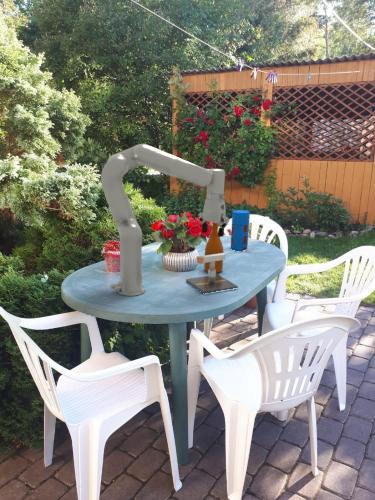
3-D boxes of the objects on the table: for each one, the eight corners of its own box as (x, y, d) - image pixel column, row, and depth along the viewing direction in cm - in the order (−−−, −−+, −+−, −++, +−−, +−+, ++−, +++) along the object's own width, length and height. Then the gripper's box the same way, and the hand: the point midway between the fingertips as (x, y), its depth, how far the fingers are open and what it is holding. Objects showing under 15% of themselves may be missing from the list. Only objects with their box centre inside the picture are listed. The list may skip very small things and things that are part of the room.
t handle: (224, 267, 178) (225, 254, 176) (199, 271, 171) (199, 257, 169) (221, 266, 180) (222, 252, 178) (196, 270, 173) (196, 256, 171)
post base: (203, 294, 166) (204, 278, 164) (186, 281, 182) (186, 266, 180) (237, 289, 174) (238, 273, 172) (217, 277, 189) (218, 262, 187)
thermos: (227, 248, 245) (229, 210, 238) (241, 247, 249) (243, 209, 242) (236, 252, 235) (238, 213, 228) (250, 251, 240) (253, 212, 233)
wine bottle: (223, 269, 203) (226, 214, 195) (220, 274, 194) (223, 217, 186) (206, 267, 205) (208, 213, 197) (202, 272, 196) (204, 216, 188)
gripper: (235, 199, 164) (232, 237, 168) (205, 194, 175) (203, 230, 179) (224, 200, 158) (222, 239, 163) (195, 195, 170) (193, 232, 174)
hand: (212, 234), depth 171 cm, fingers open, 9 cm apart
